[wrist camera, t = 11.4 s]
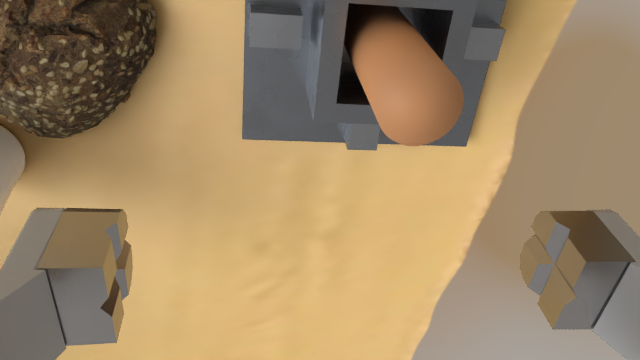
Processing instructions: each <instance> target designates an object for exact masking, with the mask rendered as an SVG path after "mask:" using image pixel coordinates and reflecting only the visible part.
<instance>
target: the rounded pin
mask: <svg viewBox="0 0 640 360" xmlns="http://www.w3.org/2000/svg"><path fill="white" fill-rule="evenodd" d="M344 46H345V48H346V51H347V53H348V55H349V57H350V60H351V62H352V64H353V66H354V69H355V71H356V73H357V76H358V78H359V80H360V82H361V85H362V87H363V89H364V91H365V94H366V96H367V98H368V101H369V103H370V105H371V107H372V110H373V112H374V114H375V116H376V119H377V121H378V123H379V126H380V127H381V129H382V131H383V132H384V133H385V135H386V136H387V137H389V138H390V139H391V140H393V141H395V142H397V143H399V144H402V145H407V146H419V145H425V144H428V143H431V142H434V141H436V140H438V139H439V138H441V137H443V136H444V135H445V134H446V133H448V132H449V131H450V130H451V129H452V127H453V126H454V125H455V124H456V122H457V121H458V119H459V117H460V115H461V112H462V108H463V102H464V97H463V90H462V87H461V85H460V83H459V81H458V80H457V78H456V77H455V76H454V75H453V74H452V72H451V71H450V70H449V69H448V67H447V66H446V65H445V64H444V63H443V61H442V60H441V59H440V58H439V57H438V55H437V54H436V53H435V52H434V51H433V49H432V48H431V47H430V46H429V45H428V43H427V42H426V41H425V40H424V39H423V37H422V36H421V35H420V34H419V33H418V31H417V30H416V29H415V28H414V27H413V25H412V24H411V23H410V22H409V21H408V19H407V18H406V17H405V16H404V15H403V13H402V12H401V11H400V10H399V9H398V7H397V6H383V5H369V4H357V5H356V6H354V7H353V8H352V9H351V10H350V11H349V13H348V14H347V21H346V29H345V37H344Z"/></svg>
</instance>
